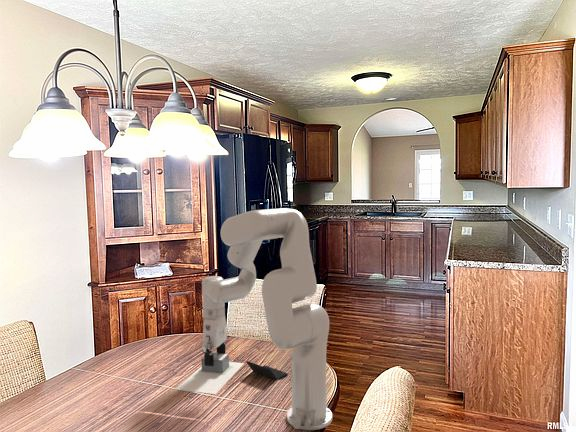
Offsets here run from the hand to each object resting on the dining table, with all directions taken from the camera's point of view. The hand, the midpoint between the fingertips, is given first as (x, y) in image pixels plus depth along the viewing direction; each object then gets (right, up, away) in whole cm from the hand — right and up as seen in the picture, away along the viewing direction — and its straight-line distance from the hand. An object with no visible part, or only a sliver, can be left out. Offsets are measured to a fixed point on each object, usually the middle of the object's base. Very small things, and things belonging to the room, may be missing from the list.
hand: (215, 360), depth 151 cm
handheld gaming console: (+18, -4, -5) cm, 19 cm away
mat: (0, -4, -5) cm, 6 cm away
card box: (0, -3, 0) cm, 3 cm away
